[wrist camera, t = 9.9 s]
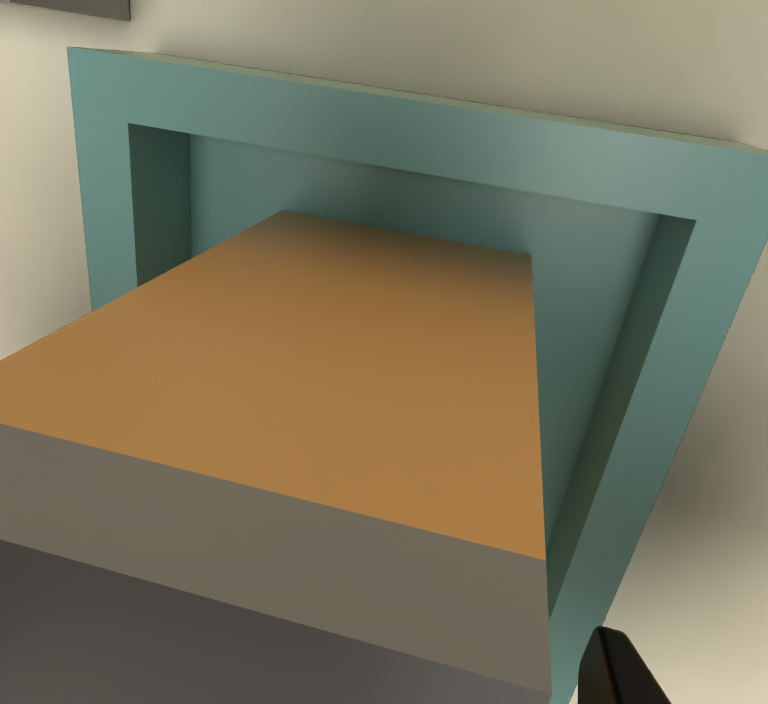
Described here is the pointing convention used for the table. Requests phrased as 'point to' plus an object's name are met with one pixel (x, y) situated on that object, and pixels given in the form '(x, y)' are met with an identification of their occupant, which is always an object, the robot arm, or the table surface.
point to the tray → (465, 225)
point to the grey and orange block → (282, 481)
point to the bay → (81, 7)
